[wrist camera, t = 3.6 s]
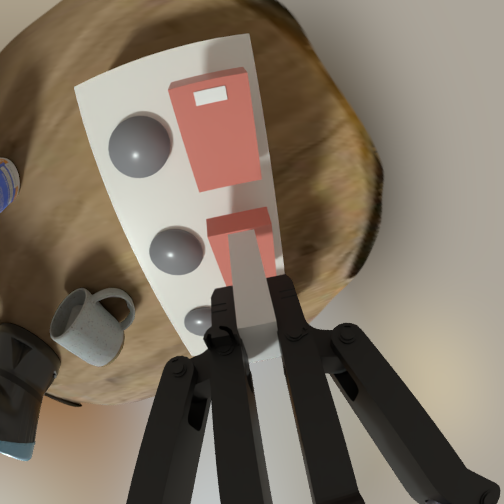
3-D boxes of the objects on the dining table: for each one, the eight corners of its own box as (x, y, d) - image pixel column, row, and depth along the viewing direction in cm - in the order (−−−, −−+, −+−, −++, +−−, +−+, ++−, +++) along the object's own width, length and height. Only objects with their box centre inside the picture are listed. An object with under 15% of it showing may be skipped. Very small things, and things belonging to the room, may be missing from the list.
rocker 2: (226, 276, 23) (228, 293, 22) (206, 219, 18) (207, 238, 16) (273, 267, 23) (277, 283, 22) (266, 206, 18) (272, 224, 17)
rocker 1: (198, 178, 18) (199, 193, 17) (170, 82, 12) (167, 90, 11) (257, 165, 18) (262, 180, 17) (243, 66, 12) (247, 72, 11)
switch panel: (201, 341, 37) (202, 377, 32) (100, 83, 16) (67, 88, 12) (284, 325, 37) (294, 361, 32) (241, 43, 17) (251, 30, 12)
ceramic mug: (99, 333, 34) (88, 377, 28) (59, 298, 29) (41, 343, 23) (150, 311, 33) (144, 362, 26) (108, 268, 28) (91, 319, 22)
